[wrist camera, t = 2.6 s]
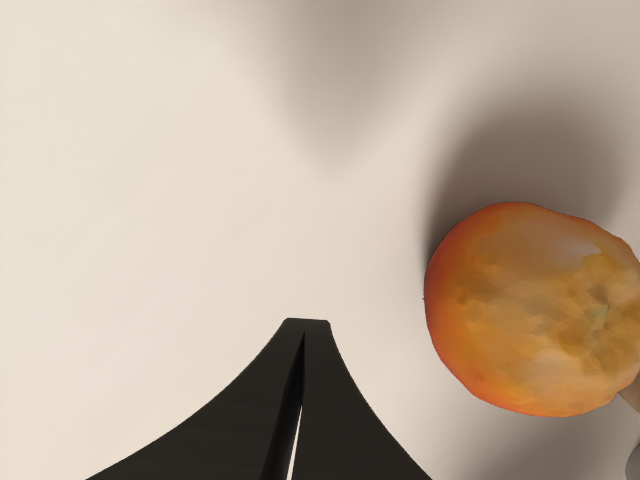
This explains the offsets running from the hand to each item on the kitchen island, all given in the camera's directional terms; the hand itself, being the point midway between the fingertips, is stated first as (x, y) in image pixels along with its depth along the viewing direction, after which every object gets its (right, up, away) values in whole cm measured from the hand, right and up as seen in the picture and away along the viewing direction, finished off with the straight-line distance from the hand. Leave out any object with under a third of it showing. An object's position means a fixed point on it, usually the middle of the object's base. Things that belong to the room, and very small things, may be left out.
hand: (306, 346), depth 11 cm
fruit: (+9, +2, +7) cm, 11 cm away
